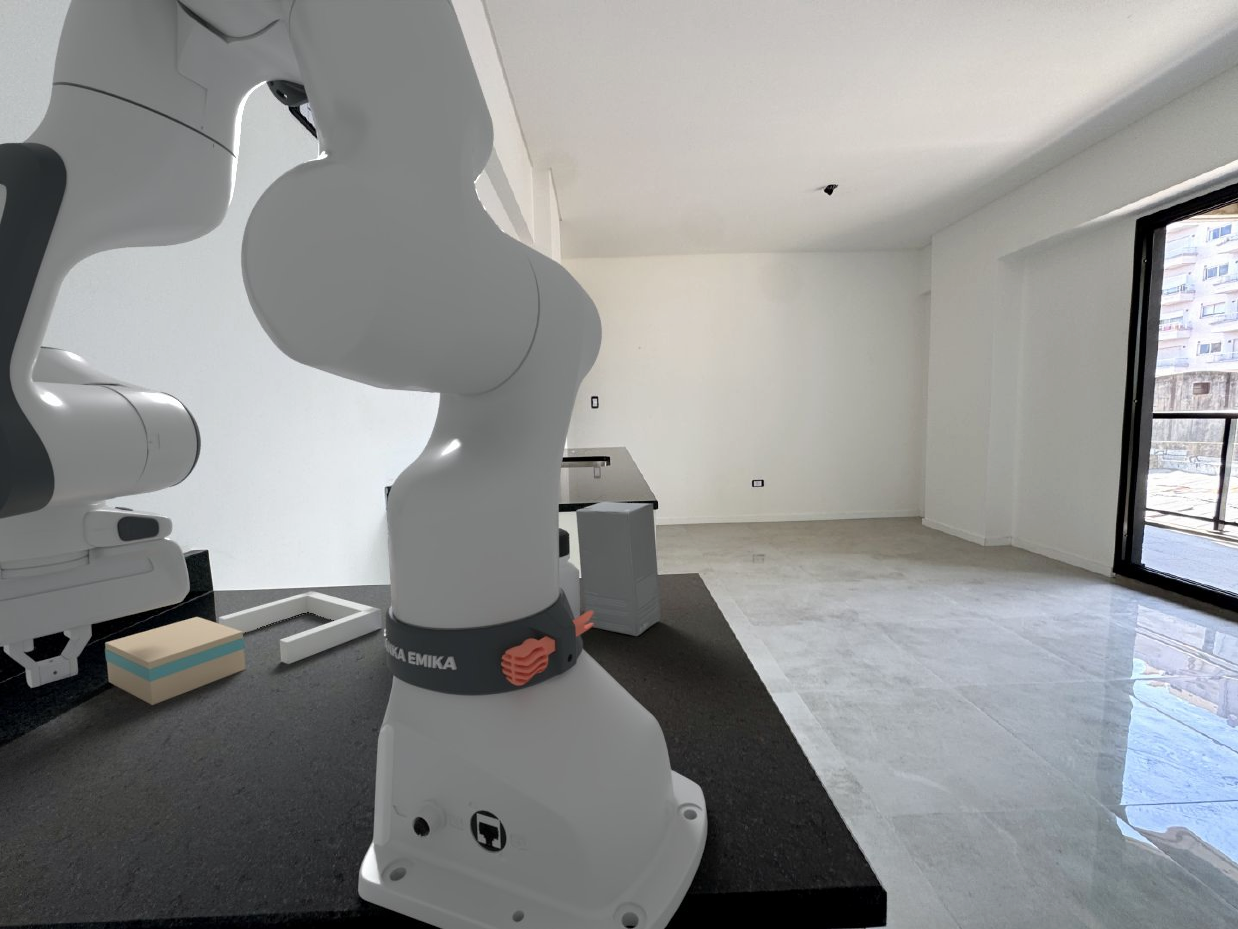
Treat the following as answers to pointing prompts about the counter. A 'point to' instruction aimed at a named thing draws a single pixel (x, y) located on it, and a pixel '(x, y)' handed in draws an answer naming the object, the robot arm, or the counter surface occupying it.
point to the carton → (174, 658)
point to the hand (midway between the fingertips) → (53, 679)
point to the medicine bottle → (568, 574)
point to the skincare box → (619, 566)
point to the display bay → (345, 627)
